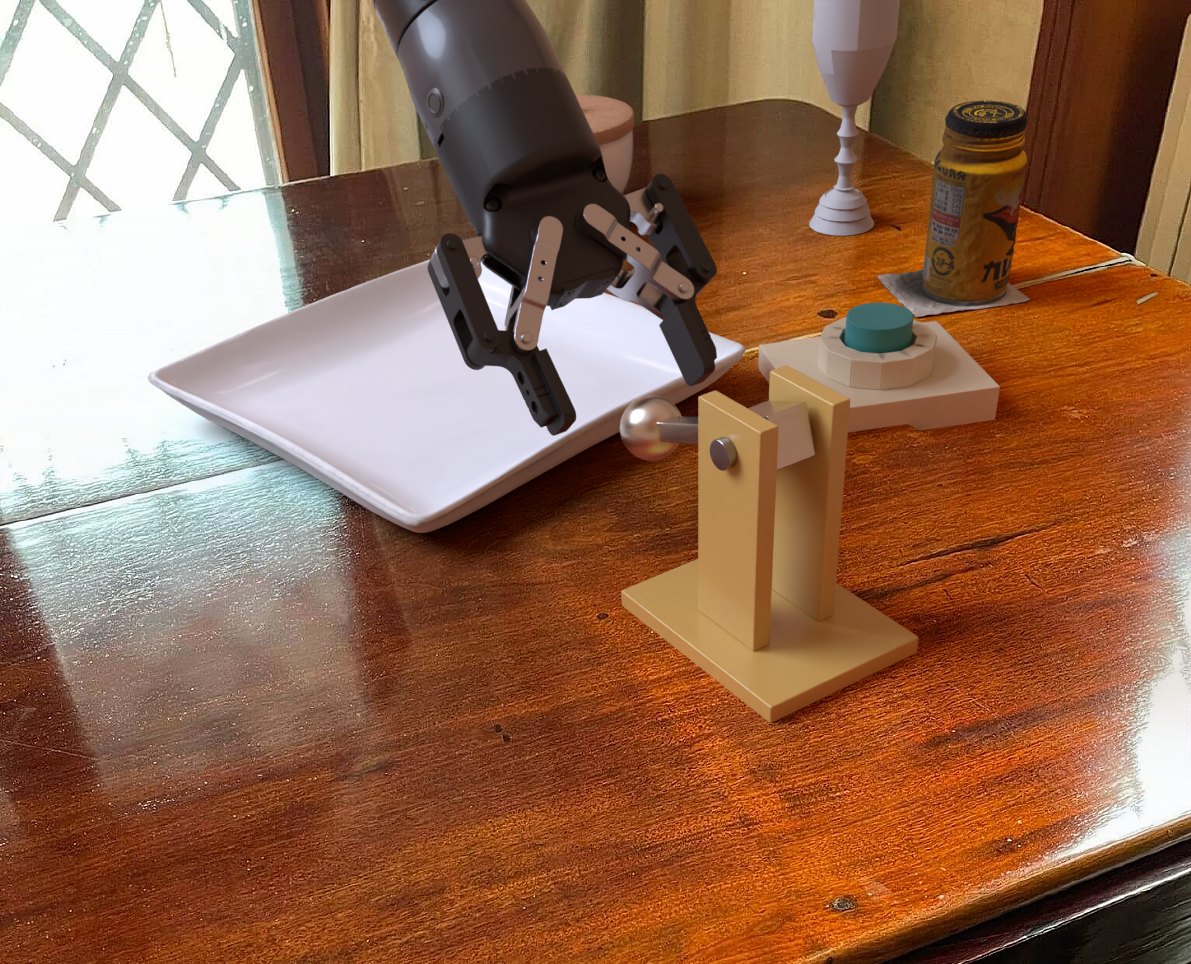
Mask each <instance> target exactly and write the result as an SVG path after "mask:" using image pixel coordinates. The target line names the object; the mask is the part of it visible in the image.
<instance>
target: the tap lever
mask: <svg viewBox="0 0 1191 964" xmlns="http://www.w3.org/2000/svg"><path fill="white" fill-rule="evenodd" d="M748 409H749V410H751V411H753V412H755V413H756V414H758V415H760V416H761V417H763V418H765V419H767V420H768V421H770V422H772V423H774V424H775V425H777V426H778V427H779V429H778V452H777V470H780V469H782V468H785V467H787V466H790V465H792V464H795V463H797V462H800V461H802V460H805V459H807V458H810V457H812V456H815V449H814V444H813V438H812V432H811V426H810V421H809V415H808V409H807V403H806V402H790V401H769V400H766V401H764V402H761V403H758V404H756V405H752V406H750V407H748ZM619 434H620V438H621V440H622V443H623V445H624V448H625V449H627V451H628V452H629V453H630V454H631V455H633V456H634V457H636V458H638V459H640V460H642V461H647V462H648V461H650V462H655V461H660V460H663V459H665V458H667V457H669V456H670V455H671V454H673V453H674V452H675V451H676V449H677V448H678V447H679V445H680V444H687V445H698V416H682V414H681V412H680V410H679V408H678V407H677V405H676V404H675V405H674V404H673V403H672V402H671V401H669V400H668V399H666V398H664V397H661V396H657V395H647V396H643V397H640V398H638V399H636V400H635V401H633V402H632V403H631V404H630V405H629V406H628V407H627V408H626V410H625V411H624V413H623V415H622V418H621V422H620V432H619Z"/></svg>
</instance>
